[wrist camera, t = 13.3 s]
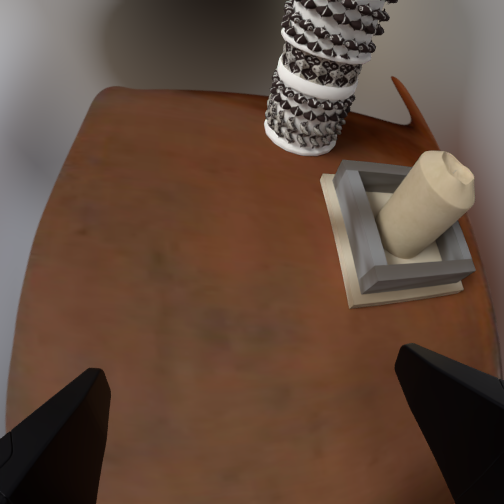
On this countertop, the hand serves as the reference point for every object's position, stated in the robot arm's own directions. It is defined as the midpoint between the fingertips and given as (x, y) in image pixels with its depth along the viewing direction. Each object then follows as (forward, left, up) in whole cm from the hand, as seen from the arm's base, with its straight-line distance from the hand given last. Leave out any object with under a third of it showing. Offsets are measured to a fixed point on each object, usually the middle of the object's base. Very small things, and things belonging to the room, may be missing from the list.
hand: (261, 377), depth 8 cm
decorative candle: (+26, -9, -14) cm, 30 cm away
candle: (+11, -16, -13) cm, 23 cm away
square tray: (+12, -16, -14) cm, 24 cm away
